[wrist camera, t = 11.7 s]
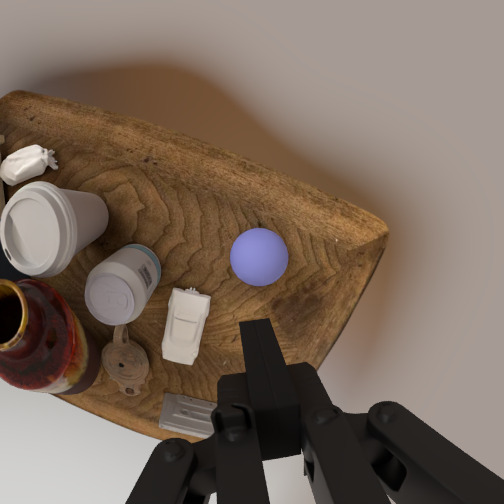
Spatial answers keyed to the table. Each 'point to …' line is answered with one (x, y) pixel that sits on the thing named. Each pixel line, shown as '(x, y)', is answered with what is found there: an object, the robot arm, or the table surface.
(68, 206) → the coffee cup
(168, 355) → the toy car
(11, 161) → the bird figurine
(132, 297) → the beverage can
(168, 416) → the cassette
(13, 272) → the cabinet
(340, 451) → the robot arm
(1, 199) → the drawer
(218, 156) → the table surface
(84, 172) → the table surface
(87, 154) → the table surface
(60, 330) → the vase
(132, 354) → the oil lamp
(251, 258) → the sphere
